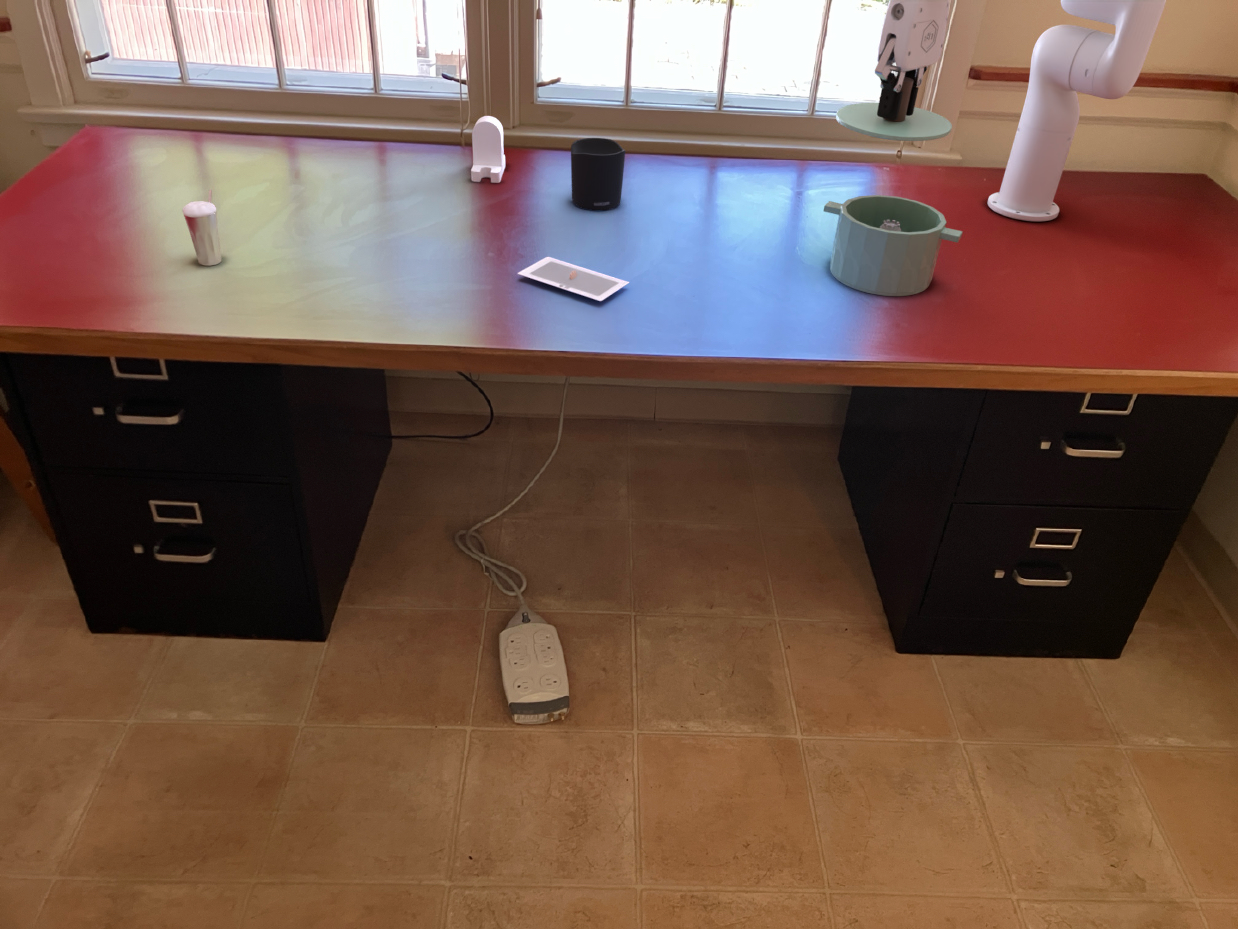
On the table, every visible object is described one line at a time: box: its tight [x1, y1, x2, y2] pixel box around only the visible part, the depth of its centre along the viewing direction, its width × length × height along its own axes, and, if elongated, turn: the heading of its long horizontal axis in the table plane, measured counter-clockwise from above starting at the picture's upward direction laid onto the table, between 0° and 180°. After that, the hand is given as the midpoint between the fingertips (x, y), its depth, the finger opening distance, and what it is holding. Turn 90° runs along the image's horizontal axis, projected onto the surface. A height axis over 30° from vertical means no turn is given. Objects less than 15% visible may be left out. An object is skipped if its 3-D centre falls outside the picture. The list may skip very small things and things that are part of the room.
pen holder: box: [570, 137, 626, 212], centre depth 170 cm, size 9×9×10 cm
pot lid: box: [835, 75, 953, 142], centre depth 140 cm, size 17×17×7 cm
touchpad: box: [516, 256, 630, 302], centre depth 145 cm, size 8×15×2 cm, turn 58°
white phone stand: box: [470, 115, 506, 184], centre depth 179 cm, size 5×10×10 cm, turn 179°
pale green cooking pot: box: [823, 194, 963, 297], centre depth 151 cm, size 16×21×10 cm
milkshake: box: [181, 189, 222, 267], centre depth 143 cm, size 4×5×10 cm
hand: (894, 114), depth 141 cm, fingers closed on pot lid, 3 cm apart
